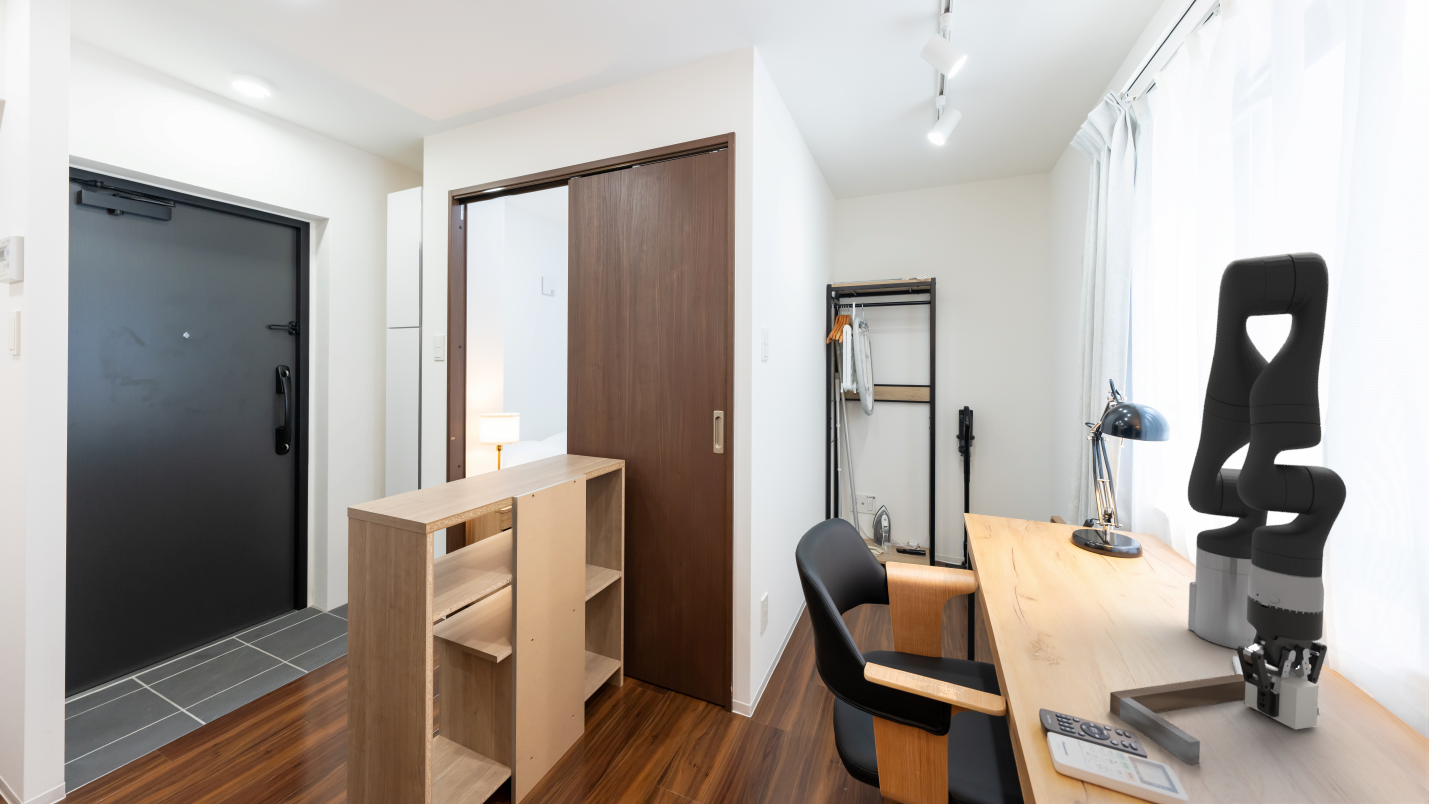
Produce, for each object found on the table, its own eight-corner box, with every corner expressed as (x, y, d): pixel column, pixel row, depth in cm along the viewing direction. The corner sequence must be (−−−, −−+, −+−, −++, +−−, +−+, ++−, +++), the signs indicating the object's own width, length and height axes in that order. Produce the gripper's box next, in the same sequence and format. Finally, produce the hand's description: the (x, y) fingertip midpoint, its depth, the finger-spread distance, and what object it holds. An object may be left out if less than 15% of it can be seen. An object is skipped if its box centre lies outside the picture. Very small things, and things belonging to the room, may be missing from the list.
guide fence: (1109, 711, 78) (1110, 692, 78) (1239, 691, 83) (1240, 673, 83) (1189, 764, 67) (1190, 742, 67) (1333, 738, 72) (1334, 718, 72)
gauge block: (1244, 703, 79) (1246, 665, 79) (1265, 700, 80) (1266, 662, 80) (1295, 729, 73) (1297, 688, 73) (1316, 725, 74) (1318, 685, 74)
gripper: (1288, 584, 81) (1284, 691, 82) (1216, 592, 78) (1212, 702, 79) (1356, 605, 73) (1350, 721, 74) (1279, 614, 71) (1274, 735, 72)
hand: (1279, 711), depth 77 cm, fingers closed on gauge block, 4 cm apart
